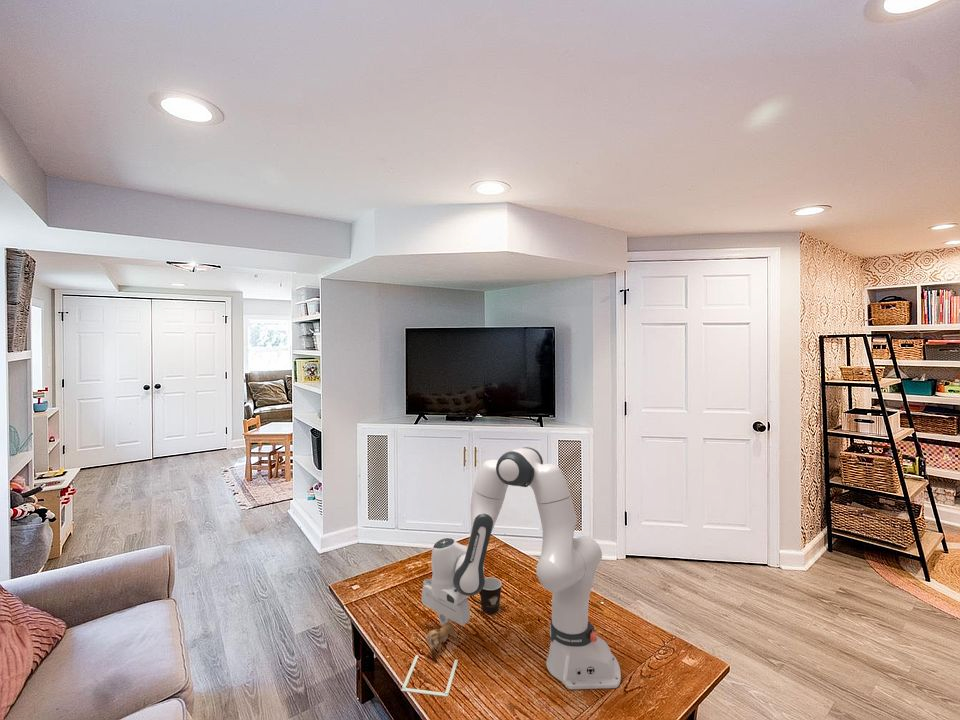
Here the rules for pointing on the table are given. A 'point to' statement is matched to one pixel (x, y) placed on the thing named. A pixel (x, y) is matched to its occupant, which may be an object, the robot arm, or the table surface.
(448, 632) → the lion figurine
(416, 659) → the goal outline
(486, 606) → the coffee mug
